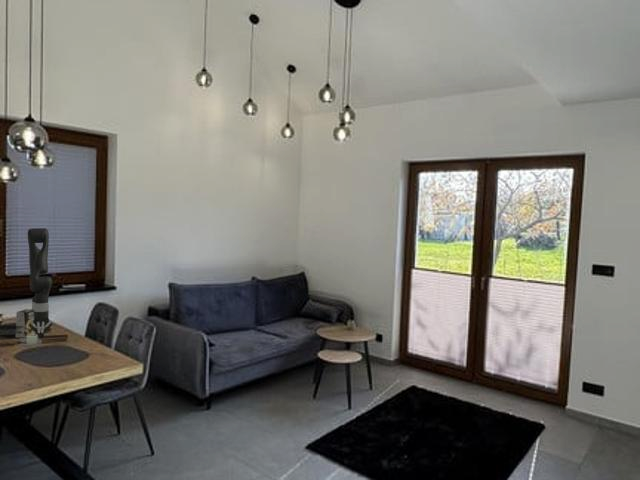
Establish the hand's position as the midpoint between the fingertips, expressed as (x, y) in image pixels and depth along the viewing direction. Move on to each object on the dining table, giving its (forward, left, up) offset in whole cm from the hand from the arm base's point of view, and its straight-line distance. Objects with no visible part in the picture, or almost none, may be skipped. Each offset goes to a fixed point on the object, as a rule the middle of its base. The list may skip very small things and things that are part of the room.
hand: (40, 338), depth 271 cm
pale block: (0, -4, -2) cm, 5 cm away
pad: (0, -5, -2) cm, 5 cm away
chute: (0, +7, -2) cm, 8 cm away
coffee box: (-17, -10, -3) cm, 20 cm away
